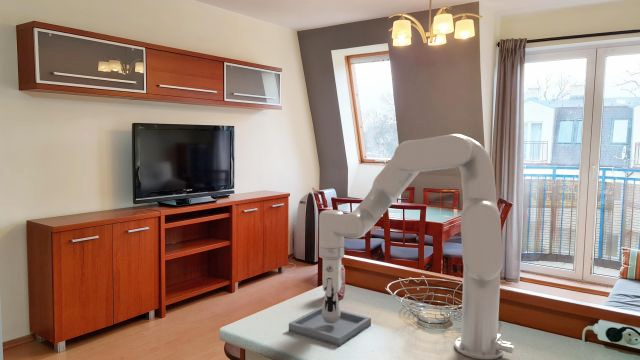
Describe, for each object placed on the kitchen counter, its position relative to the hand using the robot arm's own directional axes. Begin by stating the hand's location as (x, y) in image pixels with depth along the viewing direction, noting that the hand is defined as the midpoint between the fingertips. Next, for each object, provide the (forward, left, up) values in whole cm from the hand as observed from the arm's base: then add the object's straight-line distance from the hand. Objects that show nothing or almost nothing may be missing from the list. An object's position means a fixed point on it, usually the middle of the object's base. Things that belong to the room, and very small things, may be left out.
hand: (331, 310), depth 143 cm
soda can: (+14, -24, -6) cm, 28 cm away
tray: (0, 0, -6) cm, 6 cm away
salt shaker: (0, 0, -3) cm, 3 cm away
